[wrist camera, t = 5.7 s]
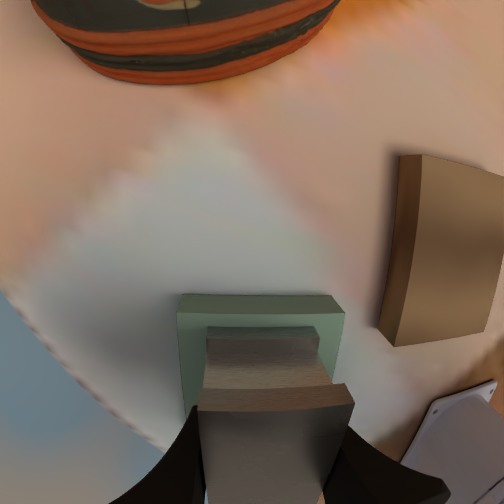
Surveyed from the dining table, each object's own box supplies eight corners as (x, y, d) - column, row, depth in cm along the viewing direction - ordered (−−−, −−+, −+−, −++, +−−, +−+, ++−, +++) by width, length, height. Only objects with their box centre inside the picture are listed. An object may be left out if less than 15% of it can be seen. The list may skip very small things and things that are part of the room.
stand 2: (465, 318, 15) (483, 331, 14) (377, 328, 15) (393, 347, 13) (488, 177, 13) (511, 179, 11) (399, 155, 13) (422, 154, 11)
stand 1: (307, 426, 16) (314, 448, 14) (193, 428, 16) (191, 452, 14) (331, 295, 14) (345, 312, 12) (183, 293, 14) (176, 312, 12)
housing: (294, 436, 14) (313, 509, 9) (212, 438, 14) (210, 515, 9) (314, 326, 12) (355, 403, 8) (207, 326, 12) (197, 410, 7)
